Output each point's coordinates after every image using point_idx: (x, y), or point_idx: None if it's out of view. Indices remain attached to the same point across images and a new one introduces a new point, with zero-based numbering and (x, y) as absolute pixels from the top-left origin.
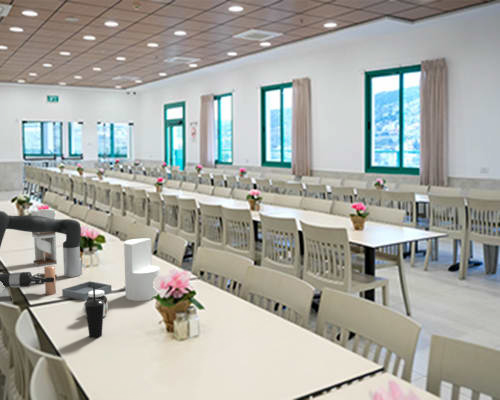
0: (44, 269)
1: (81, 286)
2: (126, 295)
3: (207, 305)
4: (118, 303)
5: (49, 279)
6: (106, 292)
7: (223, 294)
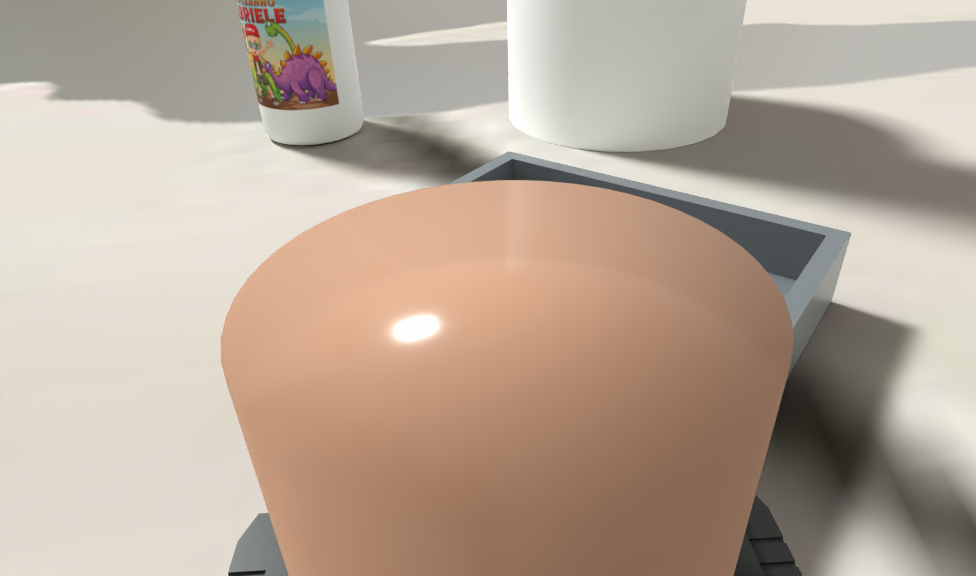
0: (665, 565)
1: None
2: (685, 126)
3: None
4: (815, 157)
5: (787, 566)
6: None
7: None
